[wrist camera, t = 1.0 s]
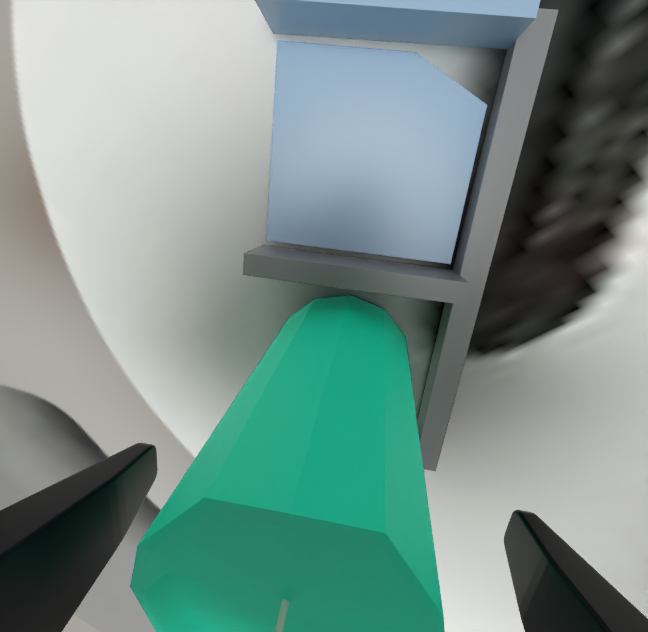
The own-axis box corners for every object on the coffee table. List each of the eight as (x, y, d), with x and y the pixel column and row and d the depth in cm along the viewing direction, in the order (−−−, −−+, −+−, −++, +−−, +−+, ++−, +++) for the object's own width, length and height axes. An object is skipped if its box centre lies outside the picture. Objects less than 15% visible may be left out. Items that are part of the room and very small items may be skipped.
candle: (427, 392, 16) (525, 874, 5) (310, 423, 18) (190, 834, 7) (380, 274, 14) (371, 604, 3) (256, 321, 16) (-25, 643, 5)
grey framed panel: (539, 28, 12) (584, -16, 9) (430, 453, 17) (441, 493, 15) (276, 8, 12) (254, -38, 10) (253, 423, 18) (236, 457, 16)
